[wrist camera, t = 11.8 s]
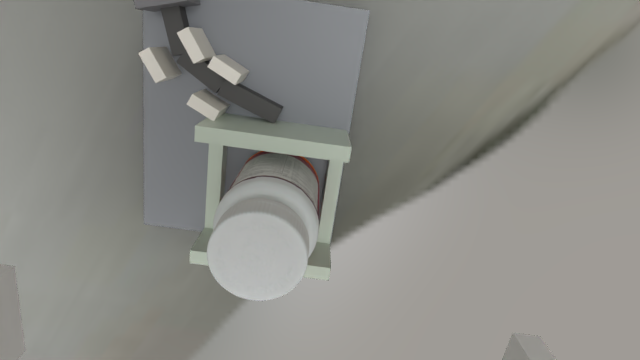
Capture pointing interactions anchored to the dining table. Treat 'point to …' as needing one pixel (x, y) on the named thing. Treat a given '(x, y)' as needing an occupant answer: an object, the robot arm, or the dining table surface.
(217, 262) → the pill bottle
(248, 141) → the end holder
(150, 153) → the board
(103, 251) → the dining table surface
